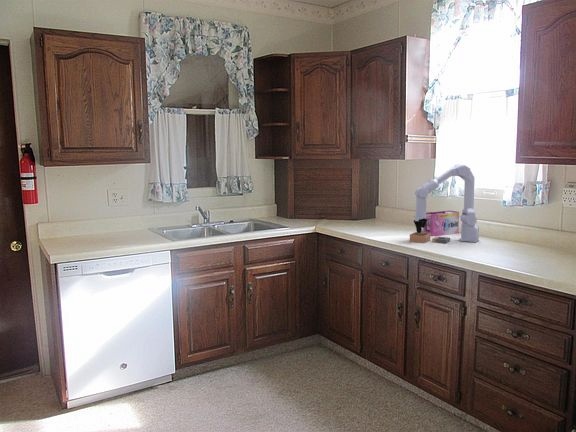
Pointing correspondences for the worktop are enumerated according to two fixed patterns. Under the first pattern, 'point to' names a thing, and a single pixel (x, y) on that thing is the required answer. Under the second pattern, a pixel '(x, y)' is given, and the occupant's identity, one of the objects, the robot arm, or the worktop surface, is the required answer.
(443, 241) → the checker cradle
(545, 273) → the worktop surface
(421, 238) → the cup
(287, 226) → the worktop surface
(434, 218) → the gum box
